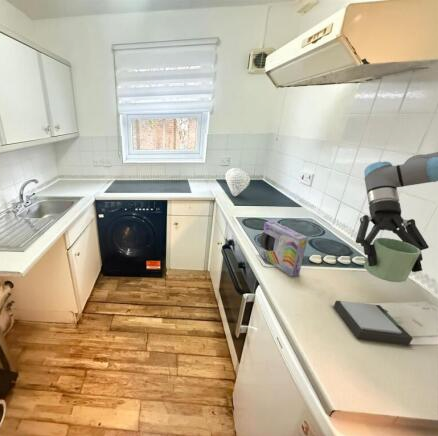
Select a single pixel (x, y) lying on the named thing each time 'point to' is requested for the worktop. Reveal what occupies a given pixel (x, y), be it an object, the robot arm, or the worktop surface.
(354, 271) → the worktop surface
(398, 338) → the scale
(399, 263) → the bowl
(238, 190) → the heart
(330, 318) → the worktop surface
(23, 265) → the worktop surface
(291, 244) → the cake pan box
